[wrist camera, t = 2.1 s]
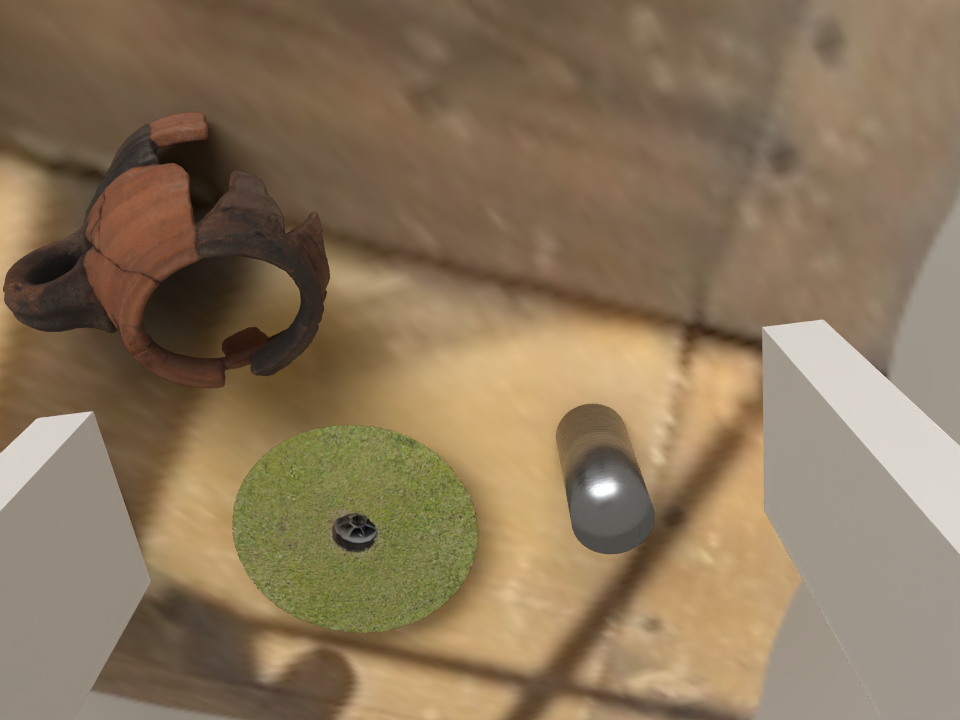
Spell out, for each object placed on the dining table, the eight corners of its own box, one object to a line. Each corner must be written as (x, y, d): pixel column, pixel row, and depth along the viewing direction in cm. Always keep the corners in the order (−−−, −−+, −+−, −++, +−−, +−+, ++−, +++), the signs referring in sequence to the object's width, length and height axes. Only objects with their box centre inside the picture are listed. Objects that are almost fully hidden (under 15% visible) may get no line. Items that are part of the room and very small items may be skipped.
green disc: (343, 359, 38) (337, 376, 37) (526, 505, 41) (528, 528, 40) (195, 518, 42) (182, 542, 40) (375, 644, 45) (370, 671, 43)
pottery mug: (264, 63, 34) (302, 180, 28) (332, 244, 41) (373, 364, 35) (-43, 160, 33) (-64, 301, 27) (82, 328, 40) (85, 466, 34)
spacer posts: (64, 528, 42) (-12, 624, 35) (-210, -199, 30) (-396, -253, 24) (628, 461, 40) (656, 549, 34) (566, -325, 29) (592, -419, 22)
